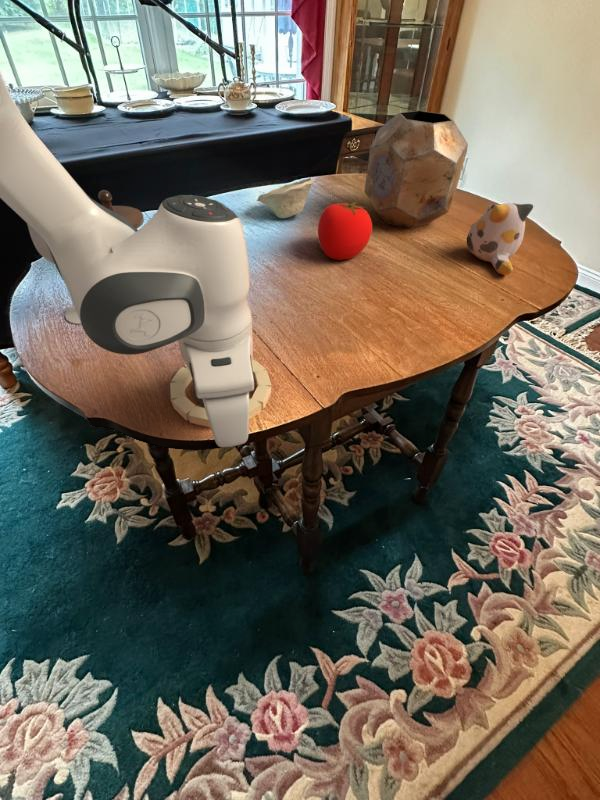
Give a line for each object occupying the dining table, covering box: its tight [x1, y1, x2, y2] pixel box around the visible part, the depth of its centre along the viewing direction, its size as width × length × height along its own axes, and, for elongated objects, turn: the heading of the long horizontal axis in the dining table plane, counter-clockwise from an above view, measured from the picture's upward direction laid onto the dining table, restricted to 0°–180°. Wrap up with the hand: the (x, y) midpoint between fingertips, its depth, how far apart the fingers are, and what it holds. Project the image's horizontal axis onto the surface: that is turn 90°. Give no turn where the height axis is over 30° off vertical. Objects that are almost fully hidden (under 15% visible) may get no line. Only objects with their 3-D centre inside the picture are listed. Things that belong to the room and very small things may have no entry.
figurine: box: [466, 202, 534, 276], centre depth 97 cm, size 12×17×15 cm
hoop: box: [169, 358, 272, 429], centre depth 66 cm, size 15×15×2 cm
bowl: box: [256, 177, 315, 219], centre depth 113 cm, size 15×14×10 cm
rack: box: [98, 189, 145, 229], centre depth 89 cm, size 13×13×15 cm
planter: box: [364, 110, 469, 229], centre depth 110 cm, size 22×24×24 cm
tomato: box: [317, 201, 373, 261], centre depth 98 cm, size 12×14×11 cm
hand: (225, 416), depth 62 cm, fingers open, 7 cm apart
